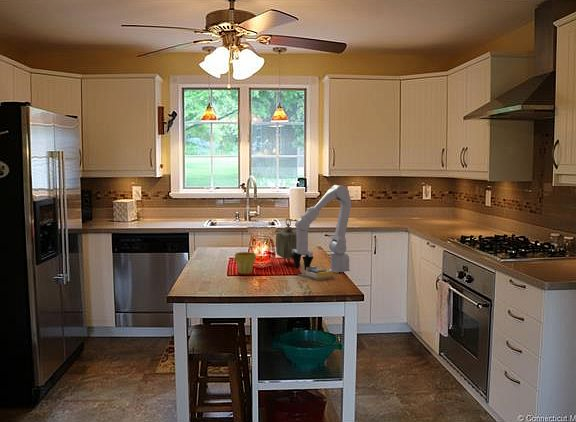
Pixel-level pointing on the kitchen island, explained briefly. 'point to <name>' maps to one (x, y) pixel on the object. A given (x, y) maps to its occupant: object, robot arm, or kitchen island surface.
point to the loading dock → (318, 275)
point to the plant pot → (245, 262)
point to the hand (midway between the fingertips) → (302, 269)
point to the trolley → (315, 269)
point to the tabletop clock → (286, 242)
